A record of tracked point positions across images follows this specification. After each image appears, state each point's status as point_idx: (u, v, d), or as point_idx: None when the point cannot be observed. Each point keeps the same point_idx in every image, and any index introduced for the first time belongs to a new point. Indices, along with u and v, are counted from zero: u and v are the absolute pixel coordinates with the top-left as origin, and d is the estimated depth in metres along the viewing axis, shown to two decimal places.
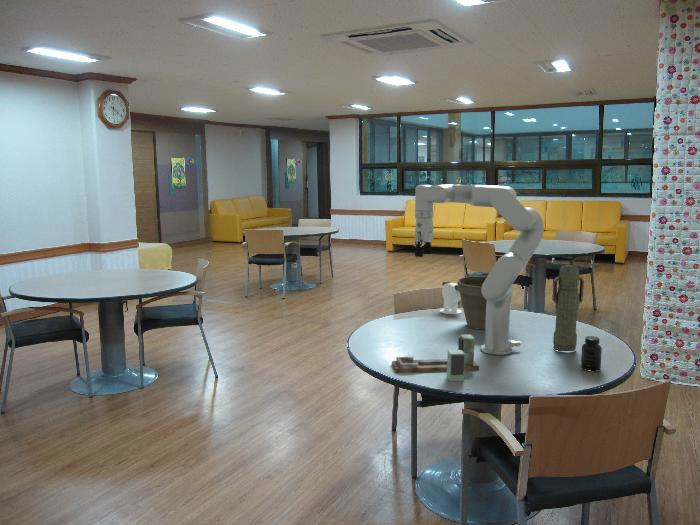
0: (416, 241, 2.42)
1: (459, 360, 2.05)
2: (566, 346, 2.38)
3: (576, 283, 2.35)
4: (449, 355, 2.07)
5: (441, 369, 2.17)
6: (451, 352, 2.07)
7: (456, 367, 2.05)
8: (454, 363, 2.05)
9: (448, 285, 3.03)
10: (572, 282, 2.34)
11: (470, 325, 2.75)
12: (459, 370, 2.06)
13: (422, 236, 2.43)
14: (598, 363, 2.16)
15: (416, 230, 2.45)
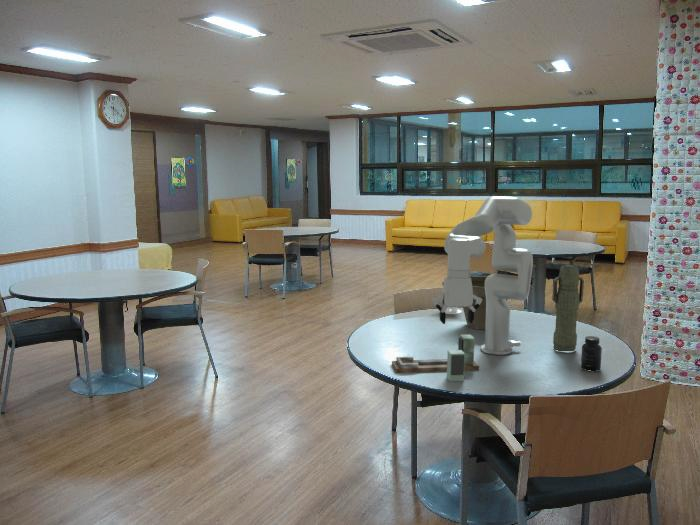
0: None
1: (459, 360, 2.05)
2: (566, 346, 2.38)
3: (576, 283, 2.35)
4: (449, 355, 2.07)
5: (441, 369, 2.17)
6: (451, 352, 2.07)
7: (456, 367, 2.05)
8: (454, 363, 2.05)
9: None
10: (572, 282, 2.34)
11: (470, 325, 2.75)
12: (459, 370, 2.06)
13: None
14: (598, 363, 2.16)
15: (472, 292, 2.03)
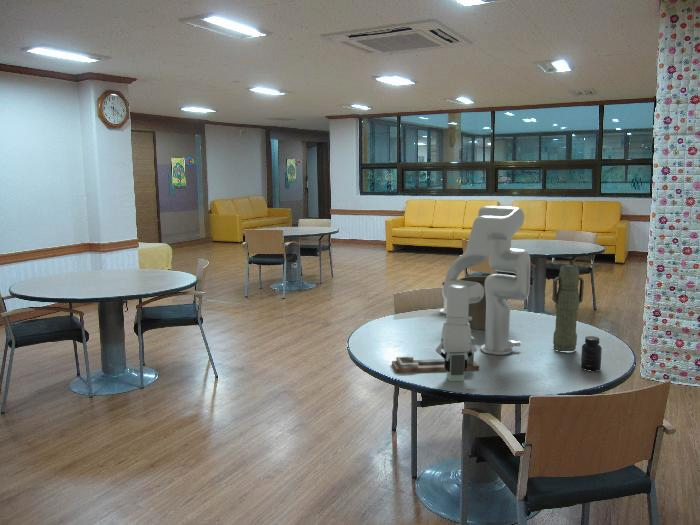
0: None
1: (459, 360, 2.05)
2: (566, 346, 2.38)
3: (576, 283, 2.35)
4: None
5: (441, 369, 2.17)
6: None
7: (456, 367, 2.05)
8: (454, 363, 2.05)
9: None
10: (572, 282, 2.34)
11: (470, 325, 2.75)
12: (459, 370, 2.06)
13: None
14: (598, 363, 2.16)
15: None
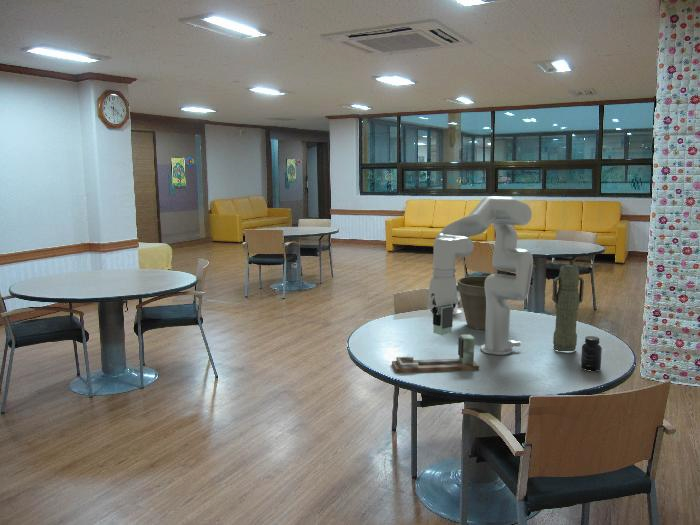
0: None
1: (449, 312, 2.07)
2: (566, 346, 2.38)
3: (576, 283, 2.35)
4: None
5: (441, 369, 2.17)
6: None
7: (447, 320, 2.06)
8: (445, 316, 2.06)
9: None
10: (572, 282, 2.34)
11: (470, 325, 2.75)
12: (449, 322, 2.07)
13: None
14: (598, 363, 2.16)
15: None
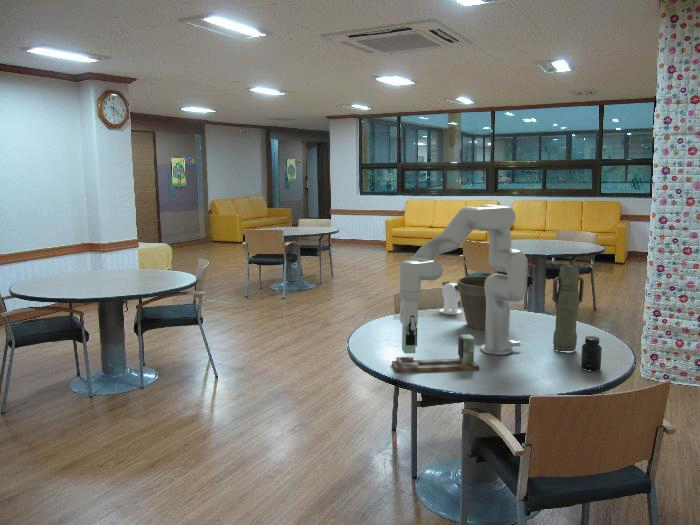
0: None
1: None
2: (566, 346, 2.38)
3: (576, 283, 2.35)
4: None
5: (441, 369, 2.17)
6: None
7: None
8: None
9: (448, 285, 3.03)
10: (572, 282, 2.34)
11: (470, 325, 2.75)
12: None
13: None
14: (598, 363, 2.16)
15: None
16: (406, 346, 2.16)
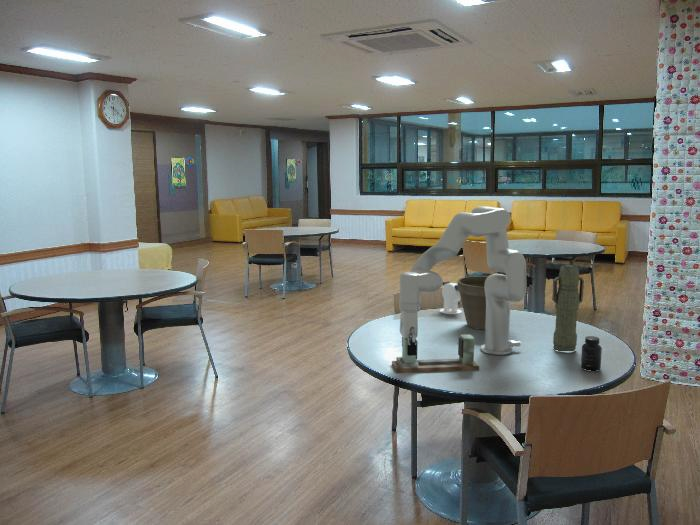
0: None
1: None
2: (566, 346, 2.38)
3: (576, 283, 2.35)
4: None
5: (441, 369, 2.17)
6: None
7: None
8: None
9: (448, 285, 3.03)
10: (572, 282, 2.34)
11: (470, 325, 2.75)
12: None
13: None
14: (598, 363, 2.16)
15: None
16: (406, 359, 2.17)
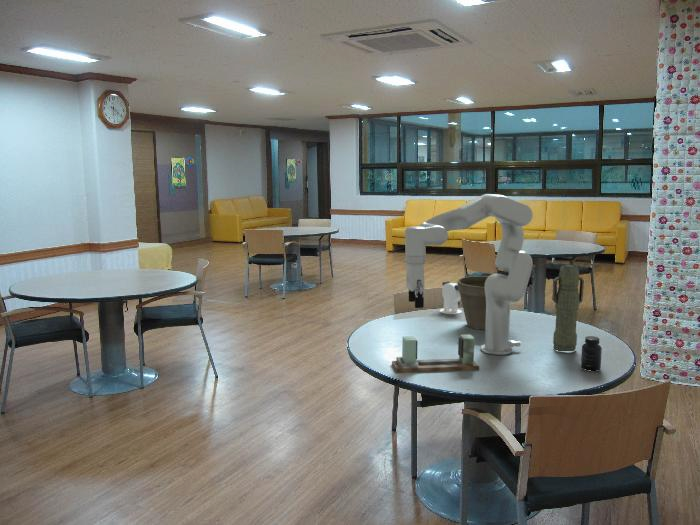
0: None
1: None
2: (566, 346, 2.38)
3: (576, 283, 2.35)
4: (412, 342, 2.16)
5: (441, 369, 2.17)
6: (411, 339, 2.17)
7: None
8: None
9: (448, 285, 3.03)
10: (572, 282, 2.34)
11: (470, 325, 2.75)
12: None
13: None
14: (598, 363, 2.16)
15: None
16: (406, 359, 2.17)
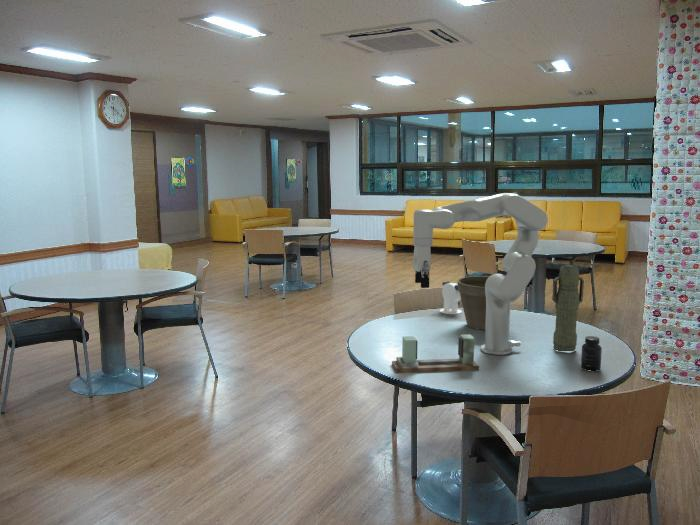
0: None
1: None
2: (566, 346, 2.38)
3: (576, 283, 2.35)
4: (412, 342, 2.16)
5: (441, 369, 2.17)
6: (411, 339, 2.17)
7: None
8: None
9: (448, 285, 3.03)
10: (572, 282, 2.34)
11: (470, 325, 2.75)
12: None
13: None
14: (598, 363, 2.16)
15: None
16: (406, 359, 2.17)
